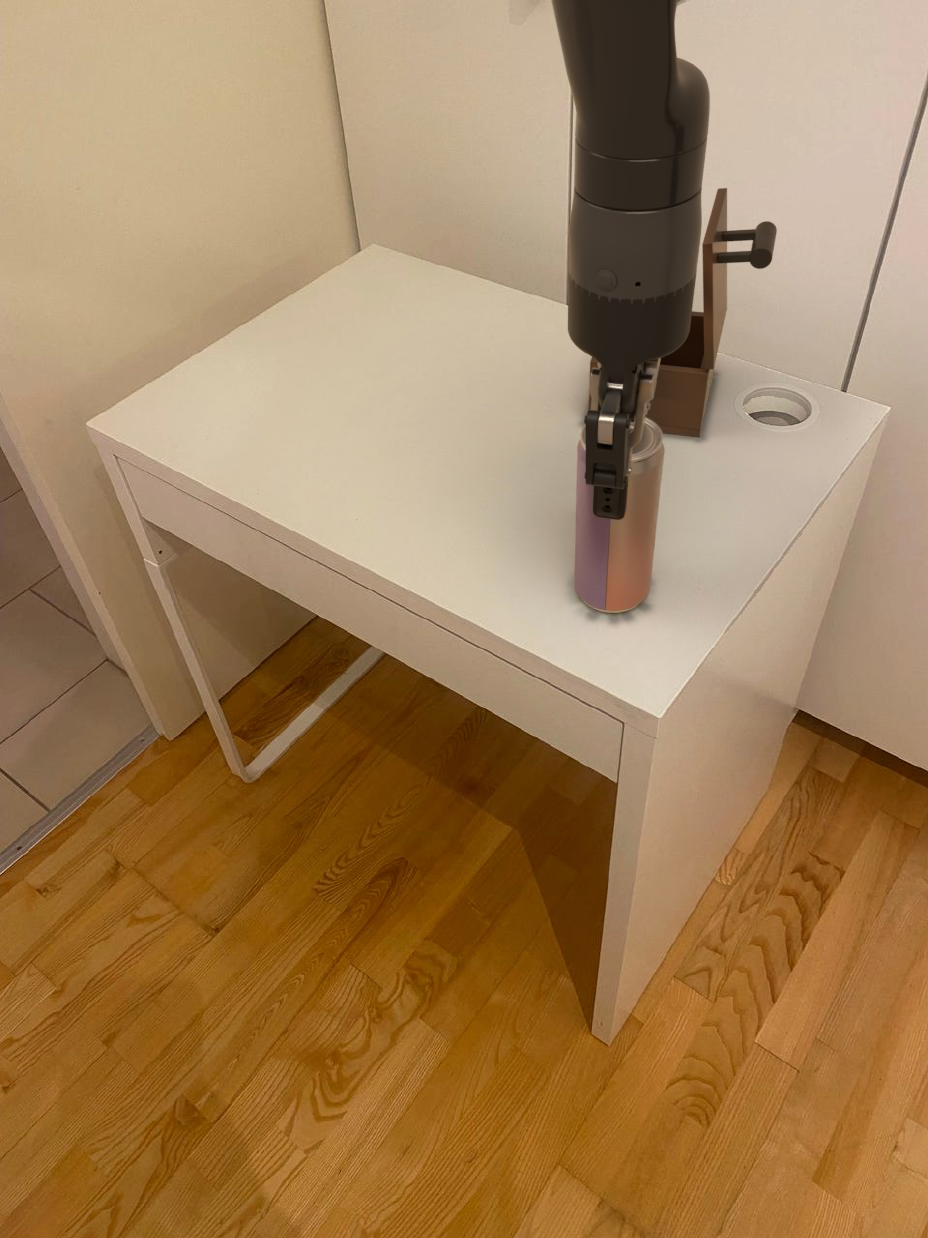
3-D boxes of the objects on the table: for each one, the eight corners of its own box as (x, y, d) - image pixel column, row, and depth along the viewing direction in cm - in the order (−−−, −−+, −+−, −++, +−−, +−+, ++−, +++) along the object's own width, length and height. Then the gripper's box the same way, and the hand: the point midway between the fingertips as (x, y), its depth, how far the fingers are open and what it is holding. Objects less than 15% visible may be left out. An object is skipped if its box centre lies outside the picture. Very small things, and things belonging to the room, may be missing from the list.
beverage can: (566, 609, 75) (569, 455, 64) (582, 559, 79) (587, 405, 68) (642, 622, 74) (658, 467, 63) (655, 570, 77) (672, 414, 66)
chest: (587, 423, 92) (589, 361, 87) (608, 364, 99) (611, 303, 94) (699, 437, 89) (708, 374, 84) (713, 375, 96) (722, 313, 91)
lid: (702, 243, 76) (770, 240, 74) (717, 188, 83) (780, 183, 81) (704, 369, 84) (766, 368, 82) (718, 309, 91) (775, 307, 89)
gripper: (679, 330, 51) (654, 561, 63) (712, 212, 60) (684, 433, 72) (541, 318, 53) (543, 544, 65) (594, 205, 62) (586, 422, 74)
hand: (618, 485), depth 68 cm, fingers closed on beverage can, 6 cm apart
